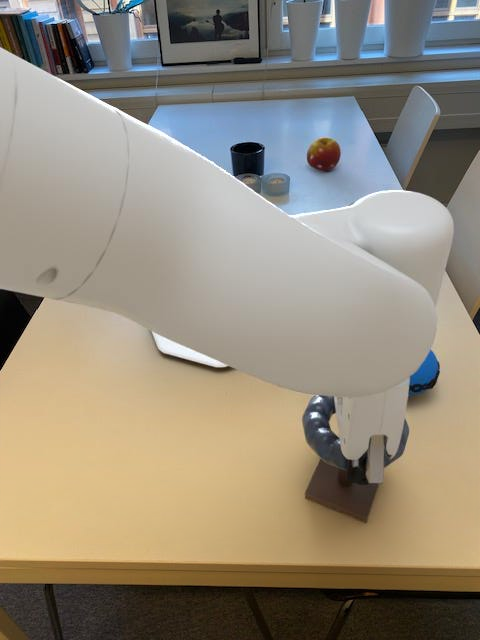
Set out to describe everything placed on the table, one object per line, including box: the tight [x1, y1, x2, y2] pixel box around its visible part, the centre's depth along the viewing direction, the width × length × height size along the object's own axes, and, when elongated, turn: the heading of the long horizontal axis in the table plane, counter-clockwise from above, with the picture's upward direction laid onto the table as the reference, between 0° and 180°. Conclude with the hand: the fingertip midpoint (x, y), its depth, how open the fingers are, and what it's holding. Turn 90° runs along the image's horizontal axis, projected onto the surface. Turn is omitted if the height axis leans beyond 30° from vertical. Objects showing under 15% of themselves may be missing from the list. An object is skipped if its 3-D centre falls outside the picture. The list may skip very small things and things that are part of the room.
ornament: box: [408, 349, 441, 396], centre depth 73 cm, size 9×9×10 cm
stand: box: [304, 457, 385, 524], centre depth 60 cm, size 8×8×10 cm
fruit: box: [306, 136, 342, 172], centre depth 138 cm, size 10×9×8 cm
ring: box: [301, 395, 410, 471], centre depth 56 cm, size 12×12×3 cm
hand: (358, 462), depth 53 cm, fingers closed on ring, 3 cm apart
